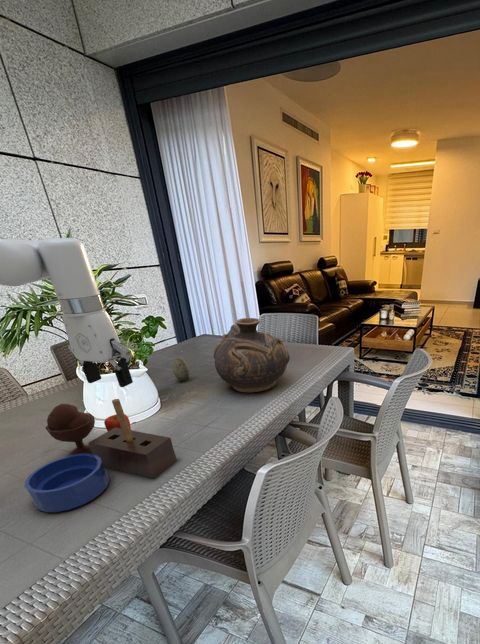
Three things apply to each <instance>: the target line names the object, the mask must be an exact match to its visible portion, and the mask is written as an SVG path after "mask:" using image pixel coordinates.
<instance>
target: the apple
mask: <svg viewBox="0 0 480 644" xmlns="http://www.w3.org/2000/svg"><path fill="white" fill-rule="evenodd" d="M124 415H125V418H126V420H127V423H128V426H129V429H130V430H131V426H132V425H131V422H130V418H129V417H128V415H127V414H125V413H124ZM103 423H104V427H105V429H106V432H108V431H110V430H111V429H113V428H115V427H116V428H121V426H120V423H119V420H118V417H117V414H116V413H115V414H113V415H110V416H108V417H106V418H105V419H104V421H103ZM121 429H122V428H121Z"/></svg>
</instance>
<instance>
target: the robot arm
mask: <svg viewBox="0 0 480 644" xmlns="http://www.w3.org/2000/svg"><path fill="white" fill-rule="evenodd" d="M47 279H49V281H50V283H51V285H52V288H53V291H54V293H55V296H56V298H57V300H58V303H59V306H60V308H61V311H62V321H63V325H64V330H65V333H66V336H67V339H68V343H69V344H68V345H67V348H68V349H69V351H70V352H71V353H72V355H73V358H74V359H75V360H76V361H77V362H78V365H79V367H81V368H82V370H83V374H84V376H85V379H86V381H87V383H88V384H93V383H95V382H98V381H100V380H102V375H101V372H100V370H99V366H98V364H97V363H103V364H105V363H108V362H109V363H110V364H111V365H112V366H113V368H114V369H115V370H114V374H115V377H116V379H117V382H118V386H119V387H120V388H125V387H127V386H129V385H131V384H133V383H134V381H133V377H132V374H131V371H130V369H129V367H130V366H131V365H130V363H131V360H132V359H131V352H132V351H131V349H130V348H129V347H127V346H126V345H124V344H123V343H121V341H120V338H119V336H118V332H117V330H116V328H115V326H114V324H113V321H112V320H111V317H110V315H109V314H108V312H107V311H106V308H105V303H104V302H103V299H102V295H101V292H100V290H99V286H98V284H97V280H96V277H95V275H94V272H93V269H92V265H91V263H90V259H89V256H88V254H87V250H86V247H85V245H84V243H83V242H82V241H81V240H80V239H78V238H75V237H52V238H44V239H41V240H34V239H33V240H32V239H22V238H0V286H7V287H20V286H24V285H27V284H31V283H36V282H39V281H43V280H47ZM117 360H118V361H117Z"/></svg>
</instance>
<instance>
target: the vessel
mask: <svg viewBox="0 0 480 644" xmlns="http://www.w3.org/2000/svg"><path fill="white" fill-rule="evenodd" d="M234 321H235V322H234V323H235V324H232V325H231V326H230V329H229V330H228V332H227V333H224V334H223V335H222V336H221V340H220V341H219V342H218V344H217V345H216V347H214V351H213V359H214V367H215V370H216V373H217V374H218V376H219V377H220V378H221V379H222V380H223V381H224V382H225V383H226V384H228V385H230V386H232V388H233V389H234V390H235V391H237V392H241V393H259V392H263V391H266V390H270V389H271V388H273V387H274V386H275V385H276V383H277V381H278V380H279V379H280V378H281V377H282V376H283V375H284V373H285V371H286V369H287V366H288V364H289V362H290V358H291V357H290V354H289V351H288V349H287V345H286V344H285V343H284V341H282V340H281V339H280V338H278V337H274V336H272V334H270V333H265V332H263V331H262V332H259V331H258V329H257V328H258V325H259V324H260V323H261V320H260V319H259V318H256V317H244V318H239V319H236V320H234Z"/></svg>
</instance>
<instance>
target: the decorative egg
mask: <svg viewBox="0 0 480 644" xmlns="http://www.w3.org/2000/svg"><path fill="white" fill-rule="evenodd" d="M172 366H173V367H172V371H173V375H174V377H175V378H176V379H177V380H178V381H180V382H185V381H187V380H188V379H189V377H190V373H191V372H190V369H189V365H188V364H187V361H186V360H185V359H184V358H183V357H181V356H175V358H174V361H173V365H172Z"/></svg>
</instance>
